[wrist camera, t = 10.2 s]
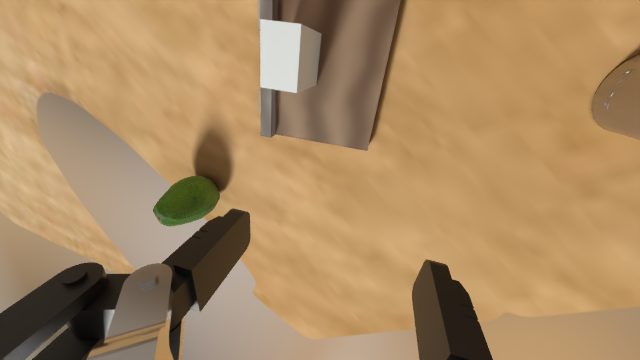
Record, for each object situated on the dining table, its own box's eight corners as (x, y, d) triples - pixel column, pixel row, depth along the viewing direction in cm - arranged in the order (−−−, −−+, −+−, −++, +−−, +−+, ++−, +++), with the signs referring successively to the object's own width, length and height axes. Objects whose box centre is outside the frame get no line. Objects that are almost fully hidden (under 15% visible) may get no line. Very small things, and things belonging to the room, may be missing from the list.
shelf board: (404, -18, 27) (407, -29, 23) (367, 146, 36) (366, 155, 33) (270, -29, 29) (256, -40, 26) (269, 128, 38) (259, 135, 35)
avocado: (200, 160, 44) (146, 191, 34) (233, 186, 45) (191, 223, 35) (186, 186, 48) (133, 221, 38) (217, 209, 49) (174, 249, 39)
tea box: (316, 85, 32) (296, 93, 24) (286, 80, 32) (257, 86, 25) (321, 33, 29) (301, 24, 21) (288, 29, 30) (257, 18, 22)
